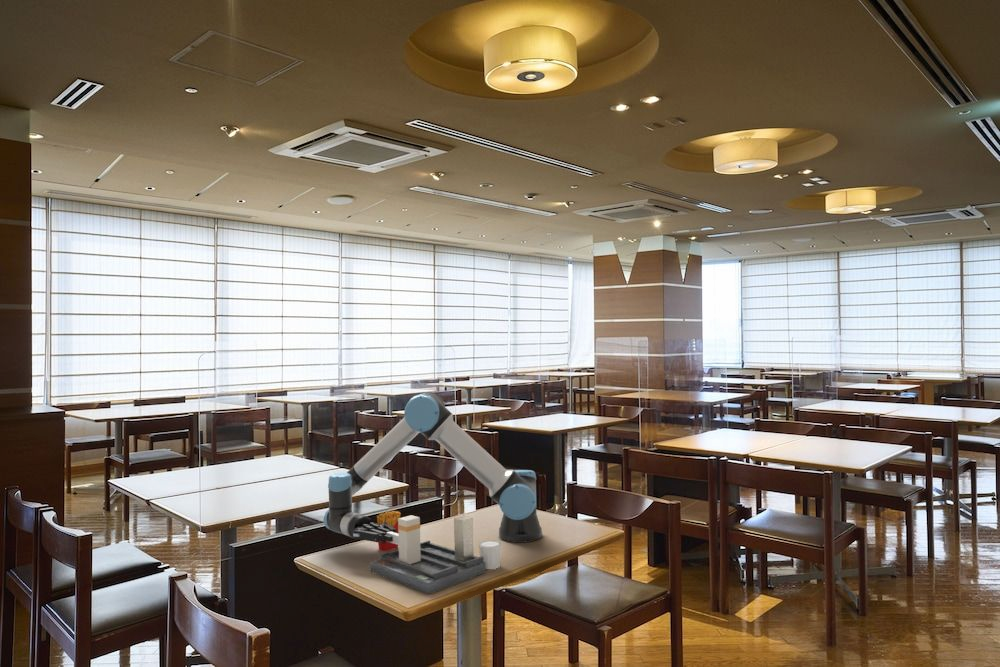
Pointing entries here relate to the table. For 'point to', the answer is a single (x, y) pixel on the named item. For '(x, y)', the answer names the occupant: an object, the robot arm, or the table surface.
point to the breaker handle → (409, 539)
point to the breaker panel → (435, 562)
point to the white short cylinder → (490, 553)
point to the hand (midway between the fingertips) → (401, 540)
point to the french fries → (391, 520)
